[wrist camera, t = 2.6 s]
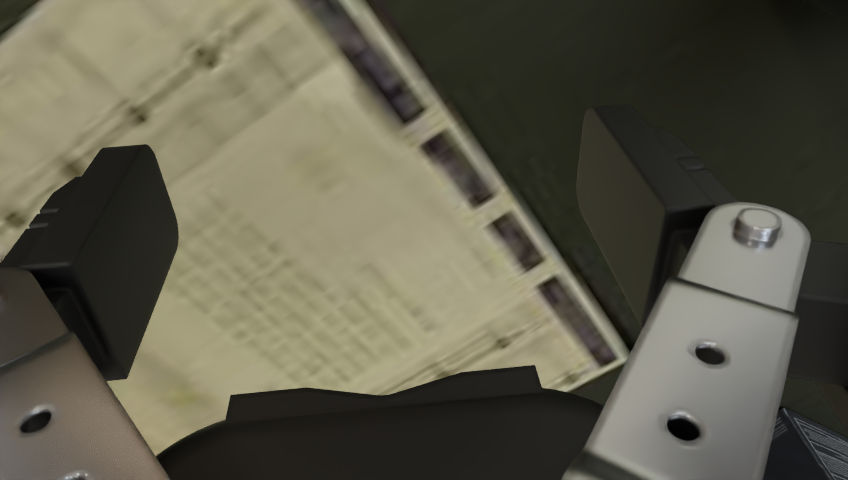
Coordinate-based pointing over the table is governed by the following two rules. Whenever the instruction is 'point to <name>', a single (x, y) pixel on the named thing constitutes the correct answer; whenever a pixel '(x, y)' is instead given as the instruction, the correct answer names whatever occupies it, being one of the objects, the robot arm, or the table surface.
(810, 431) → the small box
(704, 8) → the table surface
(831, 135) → the table surface
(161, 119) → the table surface
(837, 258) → the robot arm
